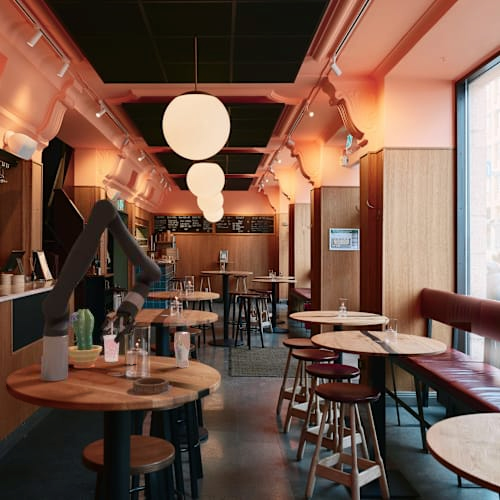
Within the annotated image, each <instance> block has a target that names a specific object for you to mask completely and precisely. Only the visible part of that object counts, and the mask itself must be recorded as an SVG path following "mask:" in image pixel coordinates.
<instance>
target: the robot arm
mask: <svg viewBox="0 0 500 500" xmlns="http://www.w3.org/2000/svg"><path fill="white" fill-rule="evenodd" d="M106 229H107V230H108V231H109V232H110V233H111V235H112V237H114V239H115V240H116V242H117V244H118V246H119V247H120V250H121V251H122V253H123V254H124V256H125V258H126V259H127V260H128V262H130V264H131V265H132V266H133V267H134V268H135V267H139V268H140V269H141V271H140V272H139V274H138V275H137V277H136V278H135V281H134V283H133V285H132V287H131V289H130V290H129V292H128V293H127V294H126V296H125V297H124V298H123V299H122V301H121V303H120V304H119V306H118V307H117V308H116V311H115V312H116V313H115V315H113V316H112V317H110V316H109V315H107V316H106V317H105V319H104V321H103V323H102V325H101V327H100V328H101V330H102V334H101V335H100V336H99V340H100V341H101V342H104V337H103V336H105V335H110V333H111V329H112V322H113V332H115V330H117V329H119V332H117V334H115V335H116V337H115V339H114V342H115V343H117V344H118V343H119V344H120V342H121V341H122V340H123V337H125V335H126V334H127V335H130V333H131V332H132V331H133V330H135V328H136V327H137V326H138V321H137V320H136V317H137V315H138V314H139V312H140V311H141V309H142V307H143V305H144V303H145V301H146V300H147V298H148V296H149V295H150V291H151V290H150V288H151V287H152V286H153V285H154V284H156V282H159V281H160V280H161V279H162V276H163V273H162V270H161V267H159V265H158V264H157V263H156V262H155V261H154V260H153V259H152V258H151V257H150V256H148V255H147V254H146V252H145V251H144V249H143V248H142V246H140V244H139V242H138V241H137V240H136V238H135V237H134V236H133V235H132V234H131V232H130V230H129V229H128V228H127V226H126V225H125V223H124V221H123V219H122V218H121V216H120V214H119V212H118V209H117V206H116V205H115V203H114V202H113V201H111V200H109V199H105V198H103V199H102V198H101V199H98V200H97V201H96V202H95V203H94V204H93V205H92V208H91V210H90V213H89V216H88V219H87V220H86V224H85V226H84V228H83V229H82V231H81V233H80V234H79V236H78V237H77V238H76V240H75V242H74V244H73V246H72V248H71V249H70V251H69V252H68V253H69V254H68V256H67V257H66V260H65V262H64V264H63V266H62V268H61V270H60V273H59V276H58V278H57V280H56V282H55V284H54V285H53V287H52V289H51V290H50V292H49V293H48V295H46V297H45V299H44V300H43V302H42V313H43V314H44V316H45V323H44V328H43V338H42V339H43V343H42V344H43V346H42V347H43V348H42V349H43V354H42V355H41V359H40V361H41V365H40V367H41V369H40V379H41V380H40V381H47V382H57V381H64V380H67V379H69V377H68V376H69V353H68V348H69V330H70V326H69V324H70V316H71V303H70V300H71V297H72V295H73V293H74V291H75V289H76V288H77V286H78V285H79V284H80V282H81V281H82V280H83V278H84V277H85V275H86V273H87V272H88V270H89V269H90V267H91V265H92V263H93V261H94V259H95V256H96V254H97V253H98V248H99V245H100V242H101V239H102V237H103V234H104V233H105V231H106ZM70 325H71V324H70ZM128 330H129V331H128Z"/></svg>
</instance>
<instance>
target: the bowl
mask: <svg viewBox="0 0 500 500" xmlns="http://www.w3.org/2000/svg"><path fill="white" fill-rule="evenodd" d="M169 381H170V380H169V379H168V378H165V377H157V376H156V377H154V376H153V377H141V378H138V379H134V380H133V382H132V388H133V389H134V392H136V393H140V394H139V395H158V394H157V393H162V392H165V391H167V390H168V387H169V385H170V383H169Z"/></svg>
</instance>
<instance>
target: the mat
mask: <svg viewBox="0 0 500 500" xmlns="http://www.w3.org/2000/svg"><path fill="white" fill-rule="evenodd" d="M172 387H173V384H172V385H170V384H169V387H168V390H167V391H165V392H162V393H157V394H156V395H170V392H171V389H172ZM128 395H141V394H140V393H136V392H134V389H133V387H132V388H131V390H130V391H129V393H128Z"/></svg>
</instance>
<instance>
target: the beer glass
mask: <svg viewBox="0 0 500 500" xmlns="http://www.w3.org/2000/svg"><path fill="white" fill-rule="evenodd" d="M190 333H191V332H189V331H176V332H174V342H173V344H174V345H173V346H174V352H175V364H174V367H175V368H176V367H179V368H178V369H184V368H183V367H187V368H189V367H190V366H189V365H190V364H189V354H190V347H191V334H190Z"/></svg>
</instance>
